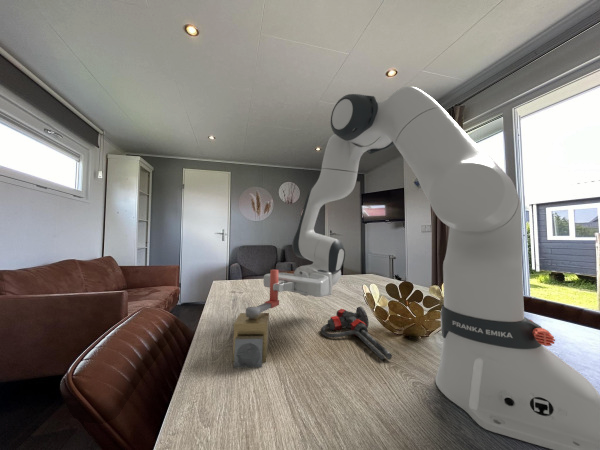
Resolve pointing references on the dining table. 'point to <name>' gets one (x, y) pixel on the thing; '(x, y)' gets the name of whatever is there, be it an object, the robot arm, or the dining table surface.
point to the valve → (355, 329)
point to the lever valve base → (250, 340)
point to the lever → (272, 303)
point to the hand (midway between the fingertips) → (275, 288)
